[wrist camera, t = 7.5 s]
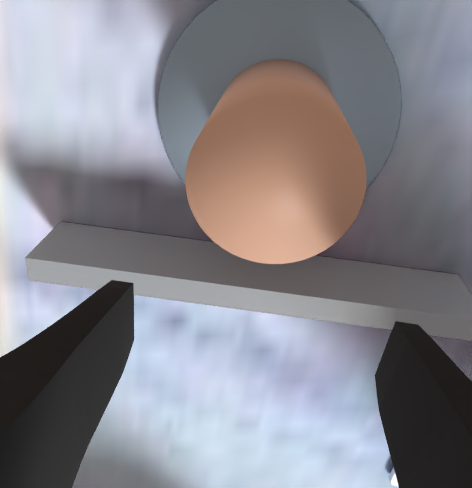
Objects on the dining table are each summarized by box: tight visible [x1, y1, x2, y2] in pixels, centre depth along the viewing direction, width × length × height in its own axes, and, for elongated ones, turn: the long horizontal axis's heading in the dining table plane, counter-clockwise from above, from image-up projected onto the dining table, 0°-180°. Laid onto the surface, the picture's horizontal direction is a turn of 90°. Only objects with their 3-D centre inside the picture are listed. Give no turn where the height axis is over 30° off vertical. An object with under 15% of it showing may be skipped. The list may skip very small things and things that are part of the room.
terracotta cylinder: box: [185, 59, 367, 264], centre depth 15 cm, size 5×5×7 cm
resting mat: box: [158, 0, 401, 188], centre depth 18 cm, size 10×10×1 cm
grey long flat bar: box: [25, 222, 472, 341], centre depth 20 cm, size 20×1×4 cm, turn 85°
